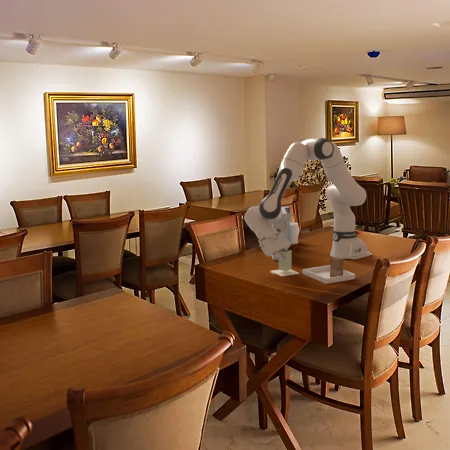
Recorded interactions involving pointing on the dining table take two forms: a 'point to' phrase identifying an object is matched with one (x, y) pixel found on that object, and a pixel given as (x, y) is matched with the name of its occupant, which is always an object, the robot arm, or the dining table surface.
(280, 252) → the sage box
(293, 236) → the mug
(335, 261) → the walnut box
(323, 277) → the white tray
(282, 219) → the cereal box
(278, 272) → the pad
